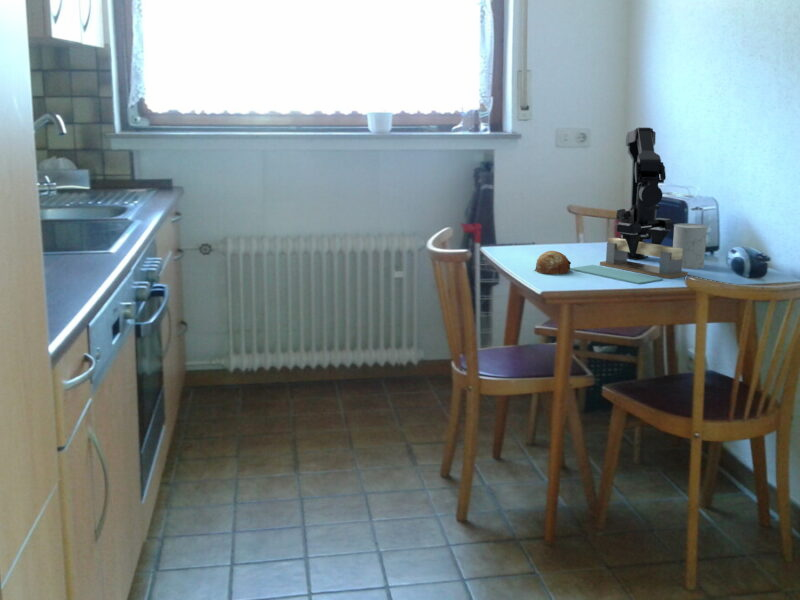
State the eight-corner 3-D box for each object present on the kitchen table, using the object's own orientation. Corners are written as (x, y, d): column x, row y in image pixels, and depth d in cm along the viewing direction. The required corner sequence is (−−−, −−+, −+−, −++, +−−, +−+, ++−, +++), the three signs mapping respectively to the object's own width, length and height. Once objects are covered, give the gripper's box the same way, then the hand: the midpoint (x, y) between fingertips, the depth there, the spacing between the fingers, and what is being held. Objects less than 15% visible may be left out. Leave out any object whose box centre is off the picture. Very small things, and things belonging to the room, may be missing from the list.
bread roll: (537, 280, 264) (526, 256, 262) (568, 265, 264) (558, 241, 262) (545, 287, 254) (534, 262, 253) (577, 271, 254) (567, 247, 252)
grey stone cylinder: (706, 264, 270) (709, 224, 267) (702, 269, 261) (705, 228, 259) (673, 262, 274) (676, 222, 271) (668, 267, 265) (671, 226, 263)
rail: (607, 248, 268) (608, 238, 268) (614, 247, 270) (614, 237, 269) (675, 260, 248) (675, 249, 248) (681, 259, 250) (682, 248, 249)
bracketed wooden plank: (599, 265, 269) (600, 242, 267) (617, 262, 273) (618, 239, 271) (669, 278, 248) (671, 254, 246) (687, 275, 252) (689, 251, 251)
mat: (592, 266, 267) (592, 264, 267) (662, 280, 246) (662, 278, 246) (569, 269, 261) (569, 268, 261) (638, 284, 240) (638, 282, 240)
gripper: (645, 197, 268) (642, 248, 271) (603, 201, 257) (600, 254, 261) (676, 200, 259) (672, 253, 262) (633, 204, 248) (630, 259, 252)
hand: (643, 254), depth 259 cm, fingers open, 9 cm apart
